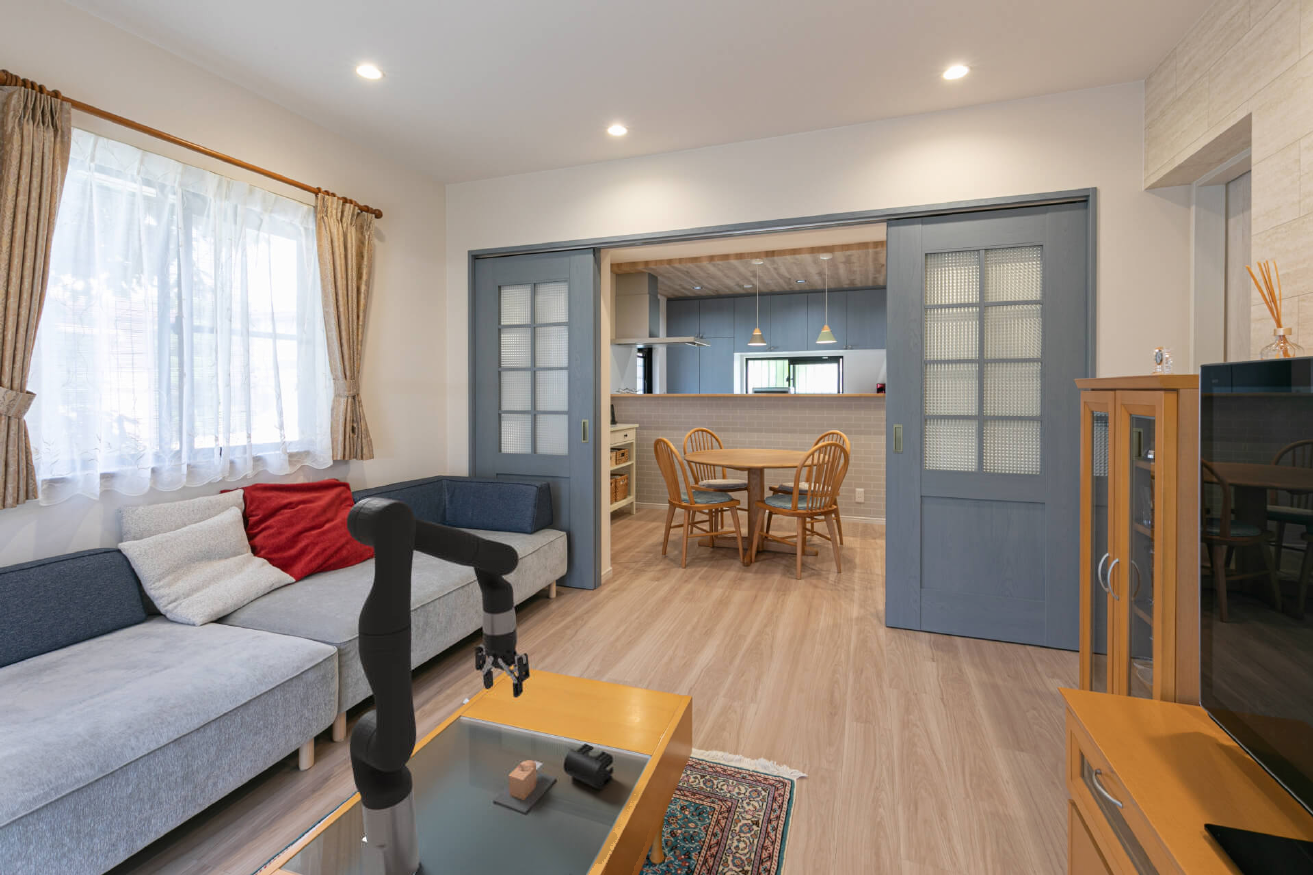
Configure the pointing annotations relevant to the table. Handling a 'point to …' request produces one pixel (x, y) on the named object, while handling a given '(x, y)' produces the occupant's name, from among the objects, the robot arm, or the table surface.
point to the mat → (525, 805)
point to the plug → (524, 779)
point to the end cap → (589, 766)
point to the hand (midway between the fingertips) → (503, 691)
